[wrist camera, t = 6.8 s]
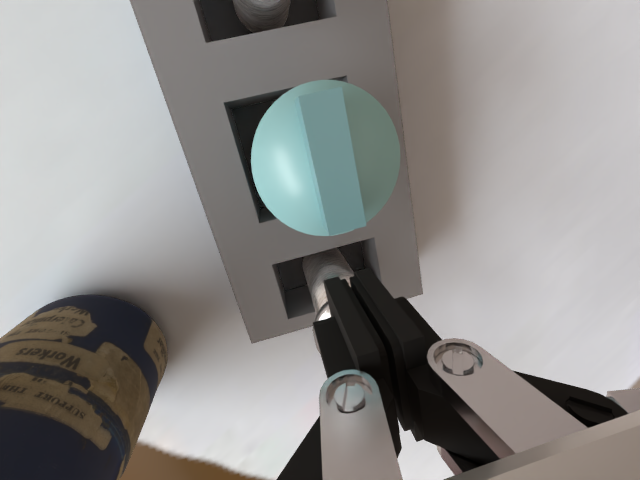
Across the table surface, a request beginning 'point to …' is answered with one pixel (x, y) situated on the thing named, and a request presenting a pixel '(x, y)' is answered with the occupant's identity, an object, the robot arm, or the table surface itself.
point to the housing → (228, 156)
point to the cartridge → (325, 157)
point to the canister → (77, 389)
